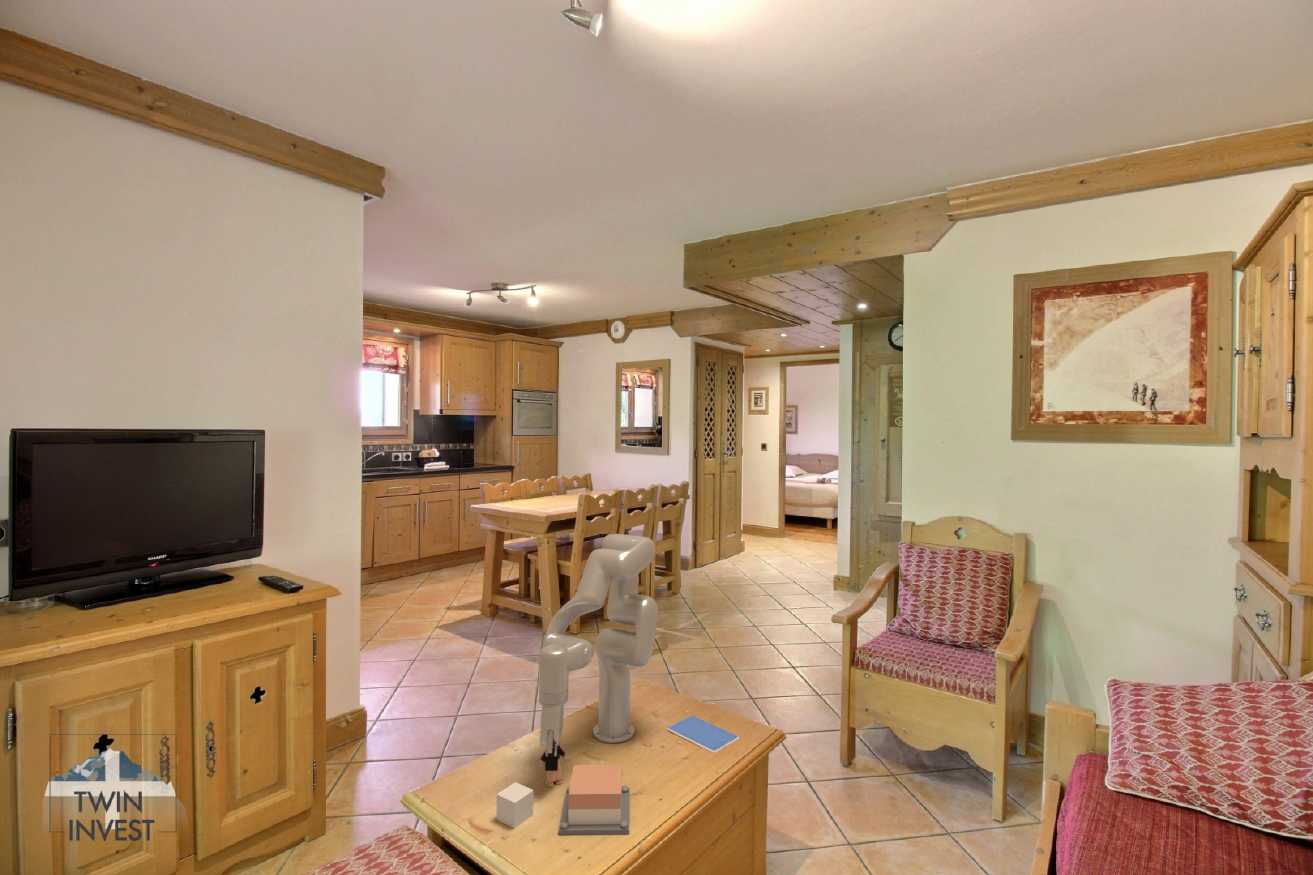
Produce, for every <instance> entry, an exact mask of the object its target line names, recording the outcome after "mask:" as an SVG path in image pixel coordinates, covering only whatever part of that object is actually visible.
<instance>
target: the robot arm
mask: <svg viewBox="0 0 1313 875" xmlns="http://www.w3.org/2000/svg"><path fill="white" fill-rule="evenodd" d="M601 545H602V546H601V547H602V548H597V549H594V550H592V552H591V553H590V554H589V556H588V559H587V562H586V565H585V567H584V569H583V572H582V575H581V579H580V581H579V584H578V586H577V590H576V593H575V595H574V596H573V598H571V599H570V600H569V601H567V602H566V603H565V604H564V605H563V606H562V607H561V608H560V609H559V610H558V611H557V612H556V613H555V614H554V615H553V617H552V618H551V620H550V622H549V624H548V627H547V629H546V632H545V635H544V638H543V640H542V646H541V649H540V652H539V656H538V659H539V663H538V665H539V666H538V668H539V669H538V684H539V686H538V703H539V704H540V705H541V717H540V730H539V731H540V733H539V745H540V746H541V747H542V746H545V751H546V754H545V762H544V770H545V772H547V771H557V770H558V754H557V747H560V748H561V745H560V743H561V742H560V741H561V737H562V732H563V728H564V726H563V725H564V715H565V714H564V711H565V710H564V707H565V706H564V705H565V704H567V703H568V702H569V674H570V672H573V671H577V670H580V669H583V668H586V667H587V666H589V664H590V663H591V662H592V660H593V658H594V654H595V653H594V652H595V651H594V650H595V649H596V654H597V662H598V716H597V718H598V722H597V723H596V724H595V726H594V727H593V730H592V733H593V736H594V738H595V739H597V740H598V741H601V742H603V743H609V744H610V743H611V744H613V743H615V744H617V743H622V742H626V741H628V740H631V739H632V738H633V737H634V735H635V726H634V725H633V723H631V722H630V721H631V719H630V718H631V672H630V669H629V668H630V667H629V666H633V667H639V668H641V667H645V666H647V665H648V663H649V662H650V660H651V658H652V655H653V650H654V643H655V635H656V629H657V625H658V624H657V623H658V622H657V621H658V612H659V610H658V604H657V602H656V600H655V599H654V598H653V597H651V596H649V595H645V594H638V590H639V589H638V588H639V583H640V582H639V581H640V577H639V574H640V573H641V572H642V571H643V570H645V569H646V568H647V567H648V566H649V565H650V564H651V563H652V562H653V560H654V557H655V554H656V544H655V542H654V541H653V539H652V538H650V537H646V536H641V535H631V534H622V533H613V534H608V535H606V536H605V537H603V540H602V543H601ZM608 594H609V595H608ZM607 595H608V599H607V606H606V616H607V618H608V620H609V621H610V622H612V623H615V624H619V625H624V626H630V627H635V630H634V631H632V630H628V629H623V628H618V627H605V628H604V629H602V630H600V632H598V635H597V637H596V640H595V649H594V646H593V645H592V643H591V642H590V641H588V640H586V639H584V638H579V637H578V638H577V637H574V636H569V635H565V632H566V630H567V628H568V627H569V625H571V623H573V621H575V620H576V619H577V618H579V617H581V616H583V615H586V614H589V613H591V612H596V611H597V610H600V609H601V608H603V606H604V605H605V601H606V598H607ZM628 665H629V666H628ZM553 734H554V735H553ZM553 741H555V742H553ZM553 746H555V750H554V748H553ZM559 758H560V759H561V755H559Z"/></svg>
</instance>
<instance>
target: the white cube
mask: <svg viewBox="0 0 1313 875" xmlns="http://www.w3.org/2000/svg"><path fill="white" fill-rule="evenodd" d="M532 816H534V790H533V789H531V788H529V787H527V786H525V785H524V784H523V785H522V784H520V783H518V782H516V781H514V782H513V783H512V784H511V785H509V786H507V787H505V788H504V789H502V790H501V791H499V792H498V793H497V794H496V820H497V821H498V822H500V823H502V824H505V825H506V826H508V827H511V828H512V829H516V828H518V827H519V826H520V825H521V824H523V823H524V822H525V821H527V820H529V818H531V817H532Z"/></svg>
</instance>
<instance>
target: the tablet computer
mask: <svg viewBox="0 0 1313 875" xmlns="http://www.w3.org/2000/svg"><path fill="white" fill-rule="evenodd" d="M666 731H668V732H669V733H672V734H675V735H676V736H679V737H681V738H682V739H684V740H686V741H688V742H689V743H691V744H692V743H693V744H694V745H696V746H698V747H700V748H701V749H704V750H706V751H708V752H710V753H712V754H717V753H719V752H720V751H722V750H723V749H725V748H727V747H729V746H731V745H732V744H734V743H735V742H738V741H739V740H740V736H739V735H737V734H735V733H733V732H730V731H728V730H726V729H724V728H721V727H719V726H717V725H715V724H713V723H710V722H709V721H707V720H704V719H702V718H700V717H697V716H696V715H689V716H687V717H685V718H683V719H682V720H680V721H677V722H676V723H673V724H672V725H670V726H667V728H666Z"/></svg>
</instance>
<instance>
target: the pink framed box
mask: <svg viewBox="0 0 1313 875" xmlns="http://www.w3.org/2000/svg"><path fill="white" fill-rule="evenodd" d="M622 780H623V764H578V765H577V764H575V765H573V770H572V774H571V780H570V785H569V786H568V787H567V788H566V789H565V793H564V800H563V805H562V810H561V814H560V819H559V825H558V830H557V831H558V832H557V834H558V836H580V835H581V836H583V835H585V836H586V835H589V836H591V835H593V836H594V835H630V809H631V808H630V805H631V804H630V802H631V801H630V799H631V798H630V797H631V794H630V791H631V787H629V786H628V785H623V781H622Z"/></svg>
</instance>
